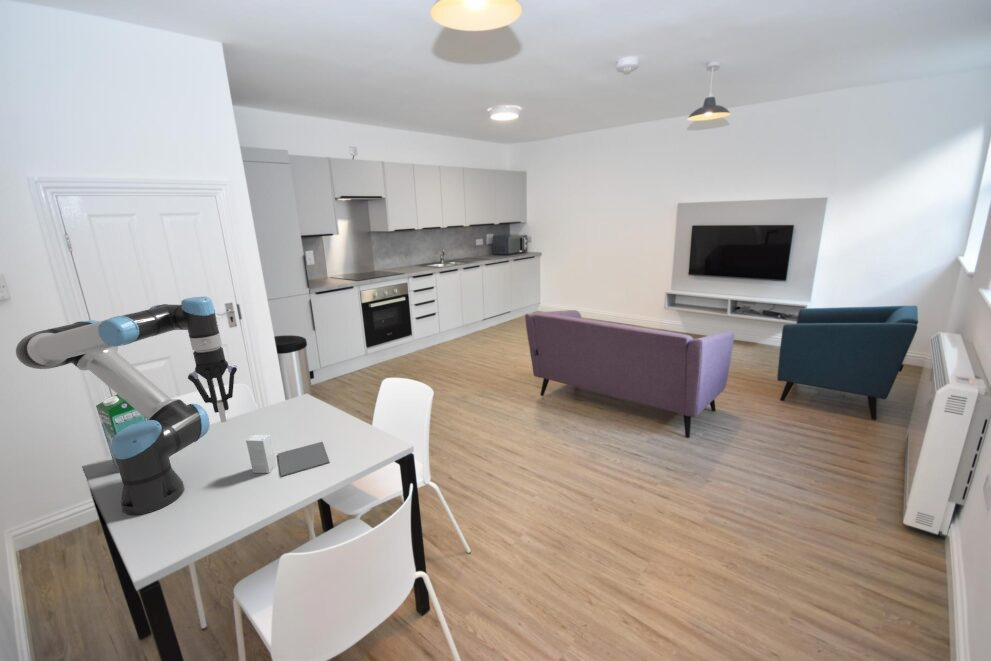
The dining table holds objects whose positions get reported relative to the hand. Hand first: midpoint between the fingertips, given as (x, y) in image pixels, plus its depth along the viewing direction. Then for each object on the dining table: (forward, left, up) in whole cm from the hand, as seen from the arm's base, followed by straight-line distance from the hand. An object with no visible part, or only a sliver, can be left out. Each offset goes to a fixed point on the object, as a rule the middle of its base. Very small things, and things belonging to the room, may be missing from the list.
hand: (224, 420), depth 136 cm
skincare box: (+8, 0, -21) cm, 22 cm away
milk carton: (-32, +32, -21) cm, 50 cm away
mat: (+20, 0, -21) cm, 29 cm away
